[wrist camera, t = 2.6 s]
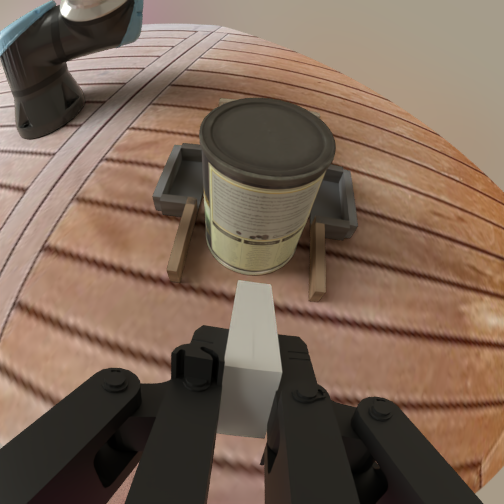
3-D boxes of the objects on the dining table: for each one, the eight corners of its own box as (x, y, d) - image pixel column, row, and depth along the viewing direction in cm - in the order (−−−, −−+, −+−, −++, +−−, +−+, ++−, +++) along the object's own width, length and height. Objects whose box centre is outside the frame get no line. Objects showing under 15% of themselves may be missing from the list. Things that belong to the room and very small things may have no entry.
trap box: (353, 305, 30) (370, 290, 26) (134, 274, 29) (123, 255, 26) (337, 138, 44) (344, 118, 41) (195, 116, 43) (194, 96, 40)
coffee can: (189, 219, 33) (177, 114, 21) (264, 187, 37) (282, 89, 25) (235, 294, 29) (246, 200, 17) (315, 250, 33) (362, 154, 21)
